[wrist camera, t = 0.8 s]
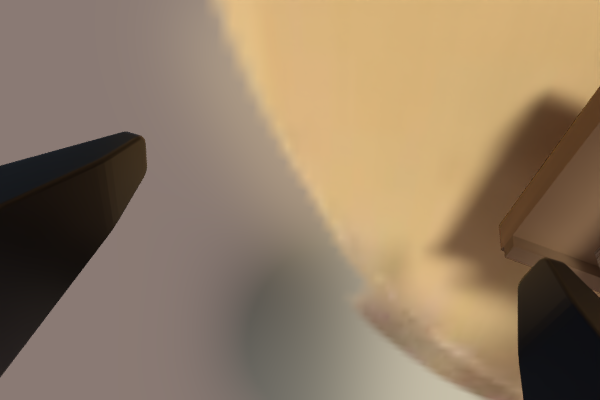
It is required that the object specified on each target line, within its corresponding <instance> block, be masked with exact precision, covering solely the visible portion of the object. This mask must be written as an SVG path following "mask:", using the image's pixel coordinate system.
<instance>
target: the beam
mask: <svg viewBox="0 0 600 400" xmlns="http://www.w3.org/2000/svg"><path fill="white" fill-rule="evenodd" d="M499 230H500V241H501V250H503V251H505V257H506V258H509V259H511V260H514V261H517V262H519V263H522V264H525V265H527V266H530V267H533V266H534V265H535V264H536V263H537V261H538V260H540V259H541V258H544V257H547V258H551V259H554V260H558V261H561V262H563V263H565V264H566V265H567V266H568V267H569V268H570V269H571V270H572V271H573V272H574V273H575V274H576V275H577V276H578V277H579V278H580V279H581V280H582V281H583V282H584V283H585V284H586V285H587V286H588V287H589V288H590V289H592V290H594V291H597V292H600V268H599V265H598V262H597V259H596V256H595V253H594V252H595V251H596V250H597V249H598V248H599V247H600V87H599V88H598V89H597V91H596V92H595V94H594V95H593V96H592V98H591V99H590V100H589V102H588V103H587V105H586V106H585V107H584V109H583V110H582V112H581V113H580V114H579V116H578V117H577V118H576V120H575V121H574V123H573V124H572V125H571V127H570V128H569V130H568V131H567V132H566V134H565V135H564V136H563V138H562V139H561V141H560V142H559V143H558V145H557V146H556V147H555V149H554V150H553V152H552V153H551V154H550V156H549V157H548V159H547V160H546V161H545V163H544V164H543V165H542V167H541V168H540V170H539V171H538V172H537V174H536V175H535V177H534V178H533V179H532V181H531V182H530V183H529V185H528V186H527V188H526V189H525V190H524V192H523V193H522V194H521V196H520V197H519V199H518V200H517V201H516V203H515V204H514V206H513V207H512V208H511V210H510V211H509V212H508V214H507V215H506V217H505V218H504V219H503V221H502V222H501V224H500V225H499Z"/></svg>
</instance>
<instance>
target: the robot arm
mask: <svg viewBox="0 0 600 400" xmlns="http://www.w3.org/2000/svg"><path fill="white" fill-rule="evenodd" d="M146 170H147V160H146V143H145V139H144V138H143V137H142V136H140V135H137V134H134V133H130V132H121V133H117V134H114V135H110V136H106V137H103V138H100V139H96V140H92V141H88V142H85V143H81V144H77V145H74V146H70V147H66V148H63V149H59V150H56V151H52V152H48V153H45V154H41V155H38V156H34V157H30V158H26V159H23V160H19V161H16V162H12V163H9V164H5V165H1V166H0V377H1V376H2V374H3V373H4V372H5V371H6V369H7V368H8V367H9V365H10V364H11V363H12V361H13V360H14V359H15V357H16V356H17V355H18V353H19V352H20V351H21V349H22V348H23V347H24V345H25V344H26V343H27V342H28V340H29V339H30V337H31V336H32V335H33V334H34V332H35V331H36V330H37V328H38V327H39V326H40V324H41V323H42V322H43V321H44V319H45V318H46V317H47V315H48V314H49V312H50V311H51V310H52V309H53V307H54V306H55V305H56V303H57V302H58V301H59V300H60V298H61V297H62V296H63V294H64V293H65V292H66V290H67V289H68V288H69V286H70V285H71V284H72V282H73V281H74V280H75V278H76V277H77V276H78V274H79V273H80V272H81V271H82V269H83V268H84V267H85V265H86V264H87V263H88V261H89V260H90V259H91V257H92V256H93V255H94V254H95V252H96V251H97V249H98V248H99V247H100V245H101V244H102V243H103V242H104V240H105V239H106V238H107V236H108V235H109V234H110V232H111V231H112V230H113V228H114V226H115V225H116V223H117V222H118V220H119V219H120V217H121V215H122V214H123V212H124V210H125V208H126V207H127V205H128V203H129V202H130V200H131V198H132V196H133V195H134V193H135V191H136V190H137V188H138V186H139V184H140V183H141V181H142V179H143V178H144V176H145V173H146ZM518 356H519V366H520V375H521V383H522V391H523V399H524V400H600V298H599V297H598V296H597V295H596V294H595V293H594V292H593V291H592V290H591V289H590V288H589V287H588V286H587V285H586V284H585V283H584V282H583V281H582V280H581V279H580V278H579V277H578V276H577V275H576V274H575V273H574V272H573V271H572V270H571V269H570V268H569V267H568V266H567V265H566V264H565V263H563V262H561V261H558V260H554V259H551V258H547V257H544V258H541V259H540V260H538V261H537V263H536V264H535V265H534V266H533V267H532V268H531V269H530V270H529V272H528V273H527V274H526V275H525V276H524V277H523V278H522V280H521V281H520V283H519V286H518Z"/></svg>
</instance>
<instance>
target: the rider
mask: <svg viewBox="0 0 600 400" xmlns="http://www.w3.org/2000/svg"><path fill="white" fill-rule="evenodd" d="M594 253H595V256H596V259H597V262H598V265H599V268H600V247H599V248H598V249H597V250H596V251H595V252H594Z"/></svg>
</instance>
